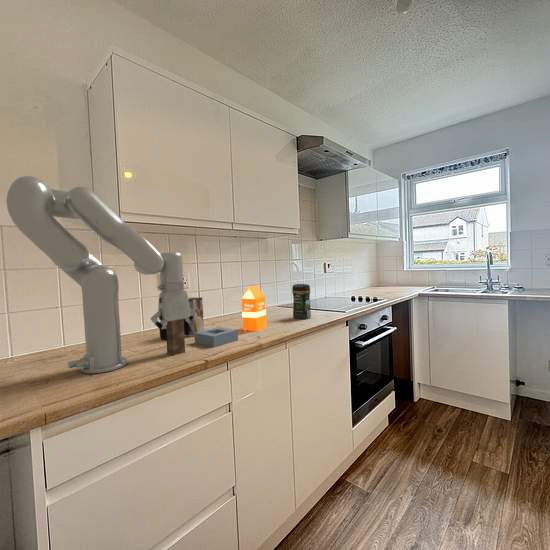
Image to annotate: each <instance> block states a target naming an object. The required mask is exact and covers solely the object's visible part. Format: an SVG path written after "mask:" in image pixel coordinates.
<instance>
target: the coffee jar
mask: <svg viewBox="0 0 550 550" xmlns="http://www.w3.org/2000/svg"><path fill="white" fill-rule="evenodd" d="M310 287H311V286H310V285H309V283H308V284H305V283H297V284H293V285H292V287H291V288H292V291H291V293H292V297H293V304H292V305H293V308H292V309H293V311H292V312H293V313H292V316H293V318H294V319H299V320H305V319H310V318H312V310H311V309H312V308H311V301H310V299H311V298H310V297H311V296H310V294H311V288H310Z"/></svg>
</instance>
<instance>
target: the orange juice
mask: <svg viewBox="0 0 550 550" xmlns="http://www.w3.org/2000/svg"><path fill="white" fill-rule="evenodd" d="M266 308H267V307H266V297H265V295H264V294H263V292H262V290H261V289H260V287H259V285H251V286H247V288H246V290H245V292H244V294H243V295H242V298H241V315H242V317H241V318H242V330H243V331H246V330H249V331H248V332H259V331H261V330H263V328H264V329H266V328H267V310H266ZM258 330H259V331H258Z"/></svg>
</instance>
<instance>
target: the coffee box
mask: <svg viewBox="0 0 550 550" xmlns="http://www.w3.org/2000/svg"><path fill="white" fill-rule="evenodd" d="M188 299H189V305H190V308H191V309H193V310H195V314H194V316H193V319H192V320H191V323H190V324H189V326H190V332H189V333H190V334H189V335H184V337H195V333H196V332H200V331H204V330H205V327H204V326H205V325H204V309H203V307H204V306H203V296H201V297H188Z"/></svg>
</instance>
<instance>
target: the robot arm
mask: <svg viewBox="0 0 550 550" xmlns="http://www.w3.org/2000/svg"><path fill="white" fill-rule="evenodd" d="M5 203H6V207H7V208H6V209H7V212H8V215H9V216H10V219H11V221H12V222H13V224H14V225H15V226H16V228H17V229H18V230H19V231H20V232H21V233H22V234H23V235H24V236H25V237H26V238H27V239H28V240H30V242H32V243H33V244H34V245H35V246H36V247H37V248H38V249H39V250H41V252H43V254H45V255H46V256H47V257H48V258H49V259H50V260H51V261H52V263H53V264H54V265H55V266H57V267H58V268H59V269H60V270H61V271H62V272H64V273H65V274H66V275H67V276H68V277H70V279H72V280H73V281H74V283H76V284H78V285H79V286H80V287H81V295H82V297H81V298H82V313H83V322H84V323H83V324H84V338H85V339H84V340H85V354H82V357H81V358H79V359H75V360H71V361H68V362H67V368H68V369H73V368H76V369H79V368H80V371H81V373H84V374H101V373H106V372H111V371H114V370H119V369H120V368H123V367H124V366H127V364H128V361H129V360H128V358H127V357H124V356H123V355H122V353H123V352H122V340H121V339H122V337H121V336H122V335H121V323H120V322H121V320H120V319H121V318H120V307H119V305H120V304H119V302H120V301H119V291H120V289H119V278H118V275H117V273H116V271H114V270H113V269H112V268H111V267H109V266H107V265H104V264H103V263H101V261H100V260H98V259H97V258H96V257H95V256H94V255H93V253H91V252H90V251H89V249H88V247H87V246H86V245H85V244H84V243H83V242H81V241H79V240H78V239H77V238H76V237H75V236H74V235H72V233H71V232H69V231H68V230H67V229H66V228H65V227H64V226H63V225H62V224H61V223H60V222H59V221H58V220H57V219H56V218H63V219H64V218H65V219H73V220H81V221H82V222H83V223H84V224H85V225H87V227H89V229H91V230H92V231H93V232H94V233H95V234H96V235H97V236H98V237H99V238H100V239H101V240H103V241H104V242H105V243H107V244H108V245H111V246H113V247H115V248H116V249H118V250H119V251H121V252H122V253H124V254H125V255H126V256H127V258H129V259H131V260H132V262H133V265H134V268H135V271H137V272H138V274H139V273H140V274H141V275H156V274H158V273H159V274H160V285H157V290H160V292H159V294H158V295H159V296H158V305H157V306H158V308H157V309H158V311H157V312H156V313H154V314H153V315H152V316H151V317H150V321H151V322H152V323H153V324H154V326H156V327H157V328H158V329H159V337H160V340H161V341H164V342H167V341H166V340H167V329H166V325H167V323H168V322H171V321H177V320H182V319H183V320H184V335H189V334H190V333H189V332H190V326H189V324H190V323H191V320H192V319H193V316H194V314H195V310H193V309H191V308H190V305H189V299H188V298H189V296H188V292H187V290H185V282H184V267H183V263H184V262H183V255H182V253H181V252H177V251H173V252H172V251H168V252H162V253H161V252H159V251H158V250H157V248H155V247H154V246H153V245H152V244H151V243H150V242H149V240H147V239H146V238H145V237H144V236H143V235H142V234H140V233H139V232H138V231H136V230H135V229H134V228H133V227H132V226H131V225H129V224H128V223H127V222H125V221H124V220H123V219H122V218H121V216H120V215H118V214H117V213H116V212H115V211H114V210H113V209H112V208H111V207H110V206H109V205H107V203H105V201H104V200H103V199H101V198H100V196H99V195H98V194H96V193H95V192H94V191H93V190H92V189H91V188H88V187H85V186H76V187H73V188H71V189H70V190H69V191H64V190H59V189H58V190H57V189H54V188H50V187H49V185H48V184H47V183H46V182H45V181H44V180H42V179H40V178H38V177H36V176H31V175H24V176H20V177H18V178H16V179H15V180H14V181H12V183H11V184H10V186H9V189H8V191H7V194H6V202H5ZM55 217H56V218H55Z"/></svg>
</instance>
